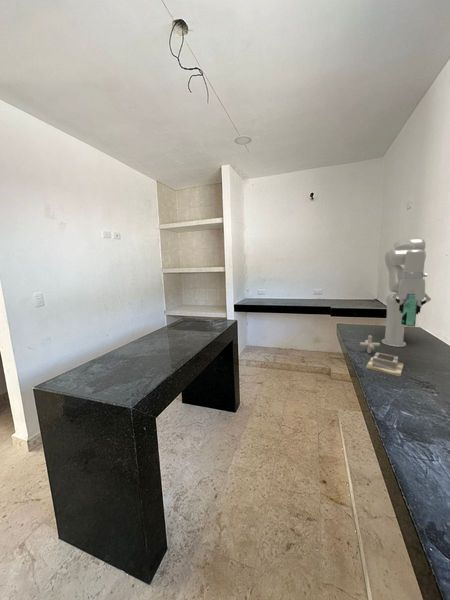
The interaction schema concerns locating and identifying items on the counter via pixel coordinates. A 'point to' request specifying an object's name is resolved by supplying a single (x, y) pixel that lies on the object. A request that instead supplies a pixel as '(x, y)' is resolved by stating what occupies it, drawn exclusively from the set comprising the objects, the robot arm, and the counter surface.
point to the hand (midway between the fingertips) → (409, 312)
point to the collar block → (385, 364)
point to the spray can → (409, 310)
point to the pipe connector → (369, 344)
